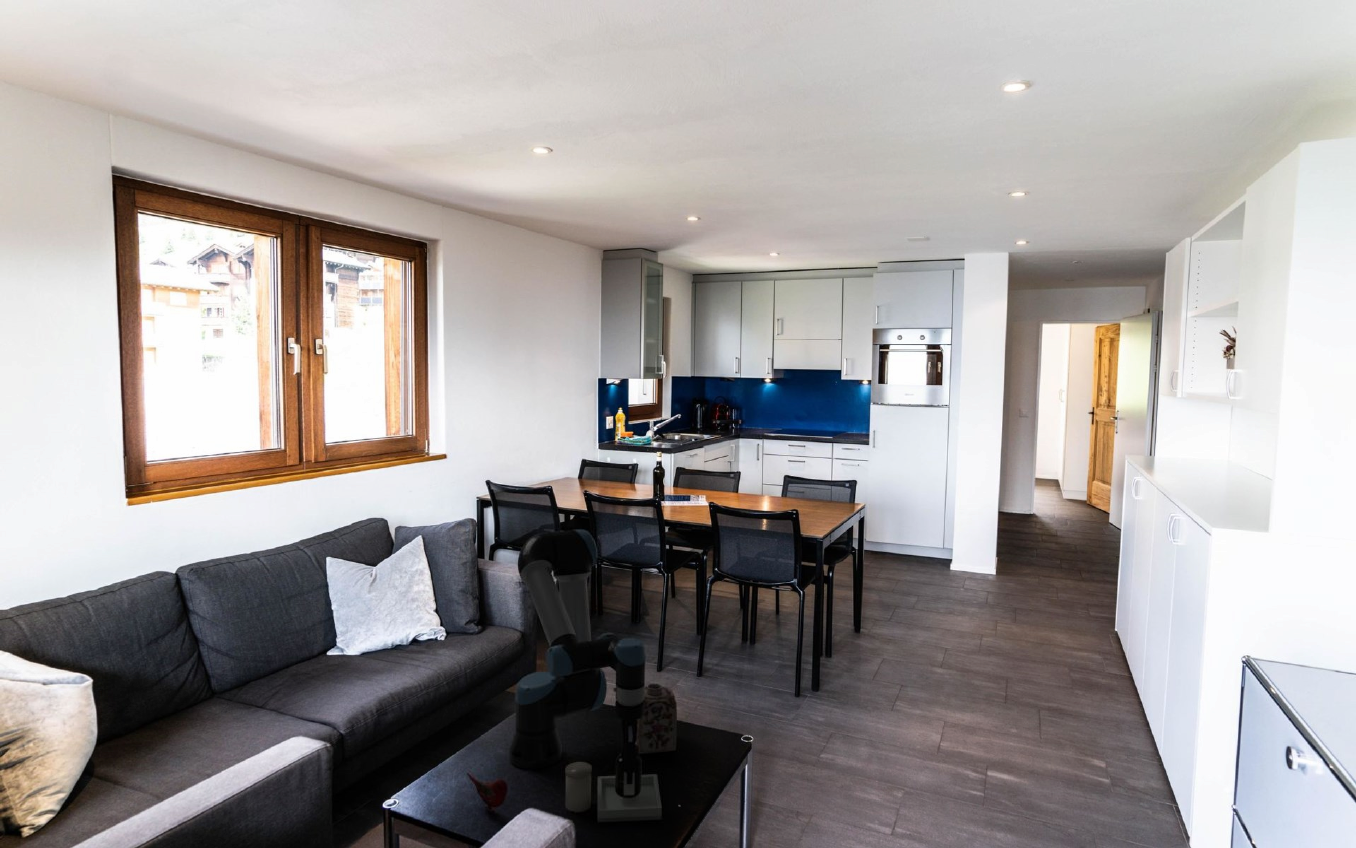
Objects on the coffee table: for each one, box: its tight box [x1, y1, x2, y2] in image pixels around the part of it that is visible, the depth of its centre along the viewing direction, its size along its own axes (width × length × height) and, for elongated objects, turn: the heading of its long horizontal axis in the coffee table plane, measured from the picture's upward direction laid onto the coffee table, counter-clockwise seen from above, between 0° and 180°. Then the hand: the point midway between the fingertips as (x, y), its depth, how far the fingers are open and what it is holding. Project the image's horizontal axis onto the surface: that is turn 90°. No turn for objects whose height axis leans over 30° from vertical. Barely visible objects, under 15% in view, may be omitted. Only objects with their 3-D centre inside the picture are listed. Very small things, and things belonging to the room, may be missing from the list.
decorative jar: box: [635, 683, 678, 755], centre depth 225 cm, size 12×12×18 cm
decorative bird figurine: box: [466, 773, 509, 816], centre depth 189 cm, size 3×18×10 cm, turn 49°
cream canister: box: [564, 761, 593, 813], centre depth 192 cm, size 7×7×10 cm
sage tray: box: [597, 773, 663, 823], centre depth 193 cm, size 16×16×3 cm
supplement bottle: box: [614, 744, 643, 798], centre depth 193 cm, size 7×7×12 cm
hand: (628, 786), depth 193 cm, fingers closed on supplement bottle, 7 cm apart
